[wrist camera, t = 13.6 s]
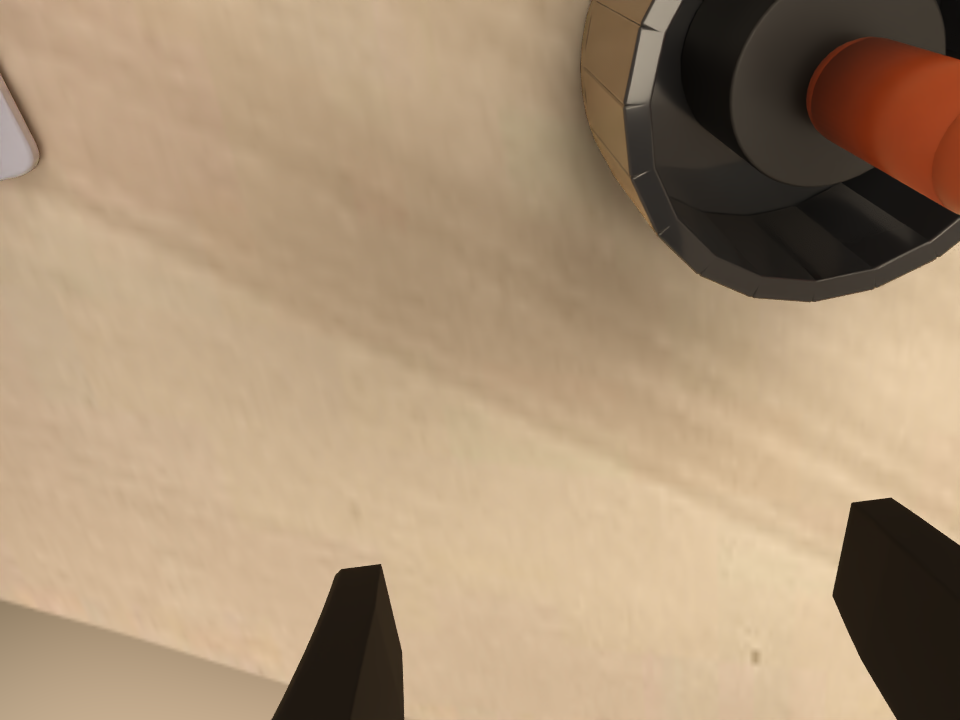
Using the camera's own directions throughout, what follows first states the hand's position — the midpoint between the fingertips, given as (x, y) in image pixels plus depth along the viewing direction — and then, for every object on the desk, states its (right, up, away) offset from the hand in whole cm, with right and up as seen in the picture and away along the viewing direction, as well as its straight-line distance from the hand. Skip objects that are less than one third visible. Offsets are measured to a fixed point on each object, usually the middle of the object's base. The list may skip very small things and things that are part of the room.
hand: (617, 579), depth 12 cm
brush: (+4, +10, +5) cm, 12 cm away
